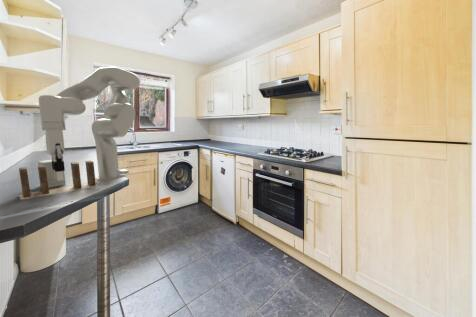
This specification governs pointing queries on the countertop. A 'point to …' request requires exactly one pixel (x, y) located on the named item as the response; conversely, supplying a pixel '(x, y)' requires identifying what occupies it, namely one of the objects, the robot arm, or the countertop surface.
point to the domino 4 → (90, 173)
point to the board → (56, 191)
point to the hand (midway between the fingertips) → (58, 169)
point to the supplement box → (51, 174)
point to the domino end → (24, 182)
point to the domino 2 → (58, 173)
